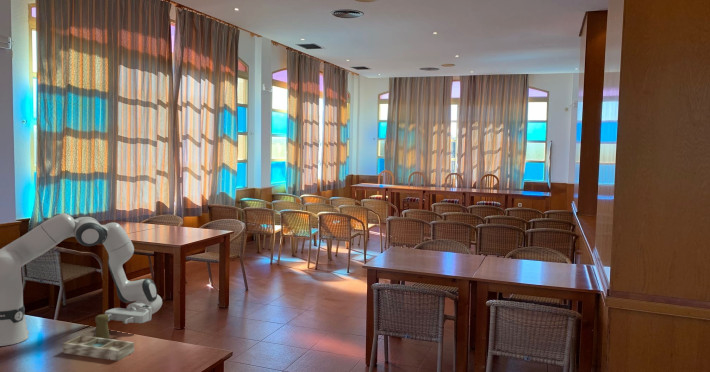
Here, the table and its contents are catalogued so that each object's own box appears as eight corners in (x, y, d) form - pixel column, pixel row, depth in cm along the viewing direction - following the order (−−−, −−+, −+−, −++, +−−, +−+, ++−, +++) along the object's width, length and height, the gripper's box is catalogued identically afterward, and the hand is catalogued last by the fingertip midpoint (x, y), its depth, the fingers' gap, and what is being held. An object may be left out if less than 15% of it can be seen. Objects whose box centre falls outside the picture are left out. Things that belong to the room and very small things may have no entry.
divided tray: (63, 352, 204) (63, 343, 203) (81, 344, 212) (80, 335, 212) (118, 360, 197) (118, 350, 197) (134, 351, 206) (134, 342, 206)
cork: (103, 343, 214) (103, 317, 214) (91, 341, 216) (90, 316, 215) (113, 338, 220) (112, 313, 220) (100, 336, 222) (100, 312, 221)
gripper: (117, 302, 241) (95, 311, 228) (154, 307, 236) (134, 316, 223) (117, 315, 242) (95, 325, 228) (154, 320, 237) (134, 330, 223)
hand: (115, 320), depth 225 cm, fingers open, 8 cm apart
